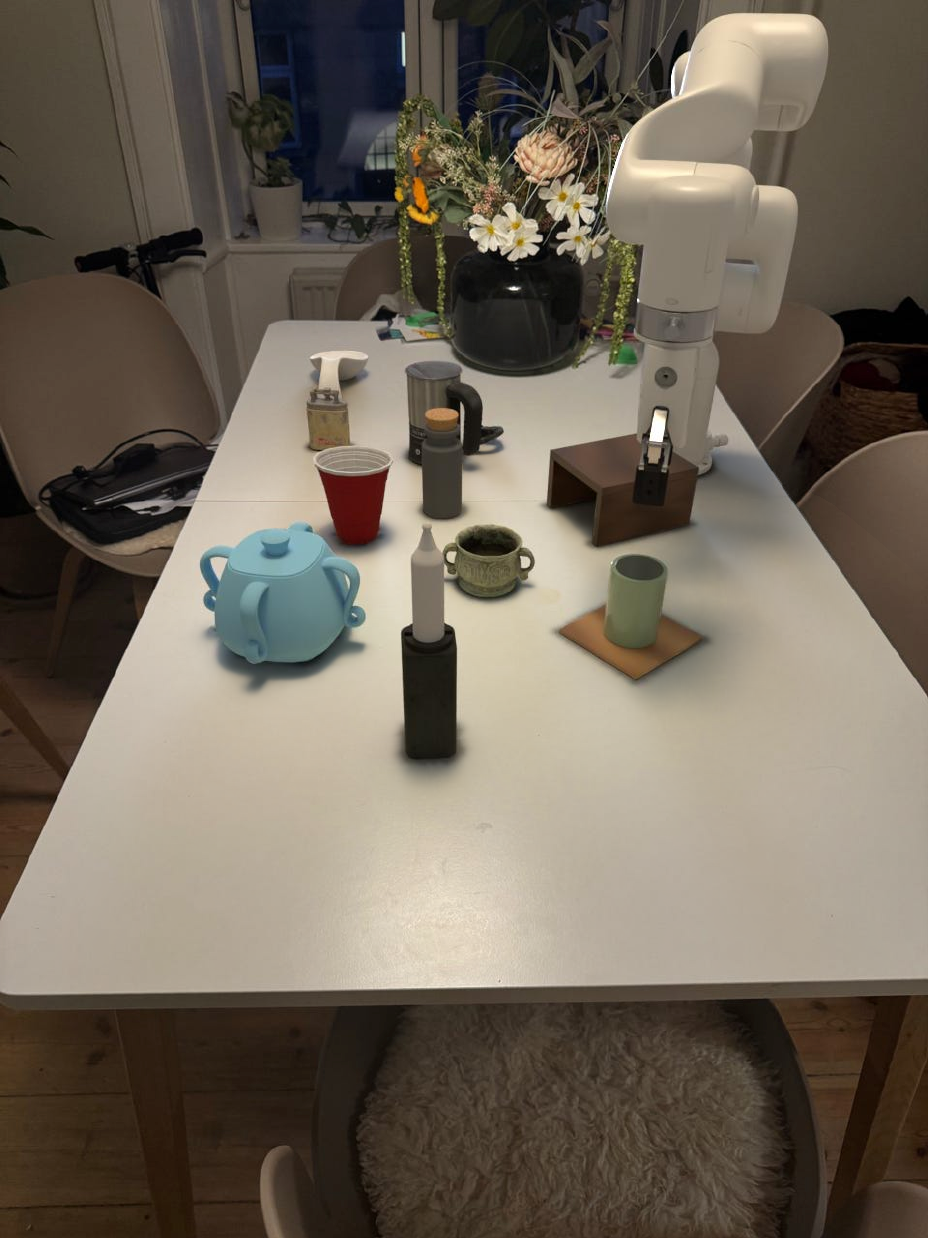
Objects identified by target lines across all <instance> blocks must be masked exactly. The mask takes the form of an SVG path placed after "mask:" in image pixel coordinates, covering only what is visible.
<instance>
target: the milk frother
mask: <svg viewBox="0 0 928 1238" xmlns="http://www.w3.org/2000/svg"><path fill="white" fill-rule="evenodd" d="M463 370H464V369H463V367H462V366H461V365H459V364H457V363H455V362H451V361H445V360H424V361H418V362H414V363H412V364H409V365H408V366H406V367H405V368H404V373H405V374H406V390H407V413H408V441H409V442H408V447H409V448H408V452H407V457H408V459H409V460H411V462H414V463H416V464H419V465H422V442H423V441H424V440H425V439H426V438H428V436H426V435H425V433H424V425H425V424H426V423H427V422H426V417H425V413H426V412H427V411H429V410H432V409H437V408H447V409H452V410H455V411H457V412H458V414H459V416H458V420H457V423H458V424H459V426H460V433H459V435H458V436H456V438H458V439H459V440H460V441H461V442H462V457H464V456H469V457H470V456H472V455H475V454H476V453H478V452H479V451H480V449H481V445H483V444H487V443H489V442H491V441H494V440H496V439H498V438H499V437H500V436H502V435H503V434H504V432H505V430H504V428H503V427H502V426H500V425H491V426H489V425H488V426H487V425H485V426H484V425H483V413H484V406H483V405H484V404H483V400H482V398H481V395H480V394H479V392H478V391H477V389H476V388H474V386H472V385H470V384H468V383H466V382H462V379H461V378H462V377H461V376H462V373H463ZM461 405H462V406H461ZM461 407H462V408H463V432H462V430H461V429H462V426H461V423H462V422H461V421H462V418H461V417H462V416H461V415H462V414H461V413H462V411H461V409H462V408H461ZM462 433H463V434H462ZM462 437H463V438H462ZM463 454H464V455H463Z"/></svg>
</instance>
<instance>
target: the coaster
mask: <svg viewBox="0 0 928 1238" xmlns="http://www.w3.org/2000/svg"><path fill="white" fill-rule="evenodd" d="M605 610H606V604H605V605H602V606H600V607H599V608H597V609H595V610H593V611H590V612H589V613H587V614H585V615H584V616H582V617H579V618H578V619H576V620H574V621H572V622H570V623H567V624H566V625H564V626H562V627H560V628H558V633H559V634H561V635H563V636H564V637H566V638H567V639H569V640H570V641H571V642H574V643H575V644H577V645H579V646H580V647H582V648H583V649H585V650H587V651H588V652H590V653H592V654H593V655H594V656H597V657H598V658H600V659H601V660H603V661H605V662H606V663H608V664H609V665H611V666H612V667H613V668H616V669H618V671H621V672H622V673H624V674H625V675H627V676H629V677H630V678H631V679H633V680H635V681H636V680H638V679H640V678H642V677H644V675H646V674H648V673H650V672H651V671H653V670H655V669H656V668H658V667H660V666H661V665H663V664H664V663H666V662H668V661H669V660H671V659H672V658H675V657H676V656H678V655H679V654H681V653H683V652H685V651H686V650H688V649H689V648H691V647H693V646H695V645H696V644H698V643H700V642H701V641H702V640H703V636H702V635H700V634H698V633H697V632H695V631H693V630H691V629H689V628H688V627H685V625H682V624H680V623H678V622H677V621H675V620H673V619H671V618H670V617H667V616H665V615H663V614H662V613H661V618H660V624H659V630H658V636H657V639H656V641H655V642H654V643H653V644H651V645H649V646H647V647H643V648H626V647H622V646H618V645H616V644H614V643H612V642H611V641H609V640H608V639H607V638H606V637H605V635H604V632H603V627H604V618H605Z"/></svg>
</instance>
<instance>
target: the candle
mask: <svg viewBox="0 0 928 1238" xmlns="http://www.w3.org/2000/svg"><path fill="white" fill-rule="evenodd" d="M432 527H433V525H432V524H431V522H430V521H429V522H428V521H425V522H424V523H423V524H421V529H422V533H421V536H420V539H419V542H418V546H417V547H416V548H415V549H414V551H413V552H412V553H411V556H410V579H411V580H410V581H411V582H410V583H411V585H410V586H411V617H412V618H411V619H412V621H411V622H412V623H410V624H409V625H406V626H404V627H403V628H402V629H401V632H400V645H401V646H400V647H401V665H402V666H401V667H402V668H401V670H402V698H403V722H404V726H403V727H404V745H405V746H404V747H405V749H404V750H405V754H406V756H407V757H409V758H410V759H413V760H429V759H430V760H431V759H445V758H451V757H452V756H454V755H455V754H456V752H457V733H458V731H457V725H458V724H457V721H458V720H457V719H458V717H457V715H458V714H457V711H458V701H457V700H458V695H457V694H458V645H457V637H456V630H455V628H454V626H452V625H450V624H448V623H446V622H445V564H444V556H443V554H442V552H443V551H442V550H440V549H439V547H438V546H437V544H436V541H435V539H434V536H433V533H432Z"/></svg>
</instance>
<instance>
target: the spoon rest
mask: <svg viewBox="0 0 928 1238" xmlns="http://www.w3.org/2000/svg"><path fill="white" fill-rule="evenodd" d="M309 361H310V362H311V364H312V366H313V367H314V369H315V370H316V371H317V372H318V373H319V378H318V379H319V380H318V386H317V389H324V388H331V390H337V391H339V395H338V396H339V397H338V399H343V395H342V390H341V386H340V381H349V380H351V379H353V378H355V377H356V376H357V375H358V374H359V373H361V372H362V371H363V370H364V369H365V368H366V366H367V364H368V361H369V355H368V354H366V353H364V352H361V351H355V350H333V351H331V350H330V351H322V352H319V353H315V354H312V355H311V356H310V357H309ZM317 397H318V398H326V397H325V396H324V394H317ZM330 398H332V399H334V397H333V396H330Z"/></svg>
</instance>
